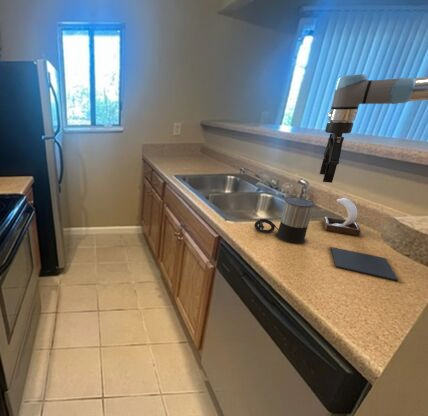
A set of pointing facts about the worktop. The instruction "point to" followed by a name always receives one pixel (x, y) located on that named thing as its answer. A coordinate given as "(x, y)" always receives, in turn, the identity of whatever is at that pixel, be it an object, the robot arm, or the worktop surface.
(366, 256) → the mat
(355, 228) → the tray
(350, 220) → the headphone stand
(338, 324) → the worktop surface
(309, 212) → the milk frother
